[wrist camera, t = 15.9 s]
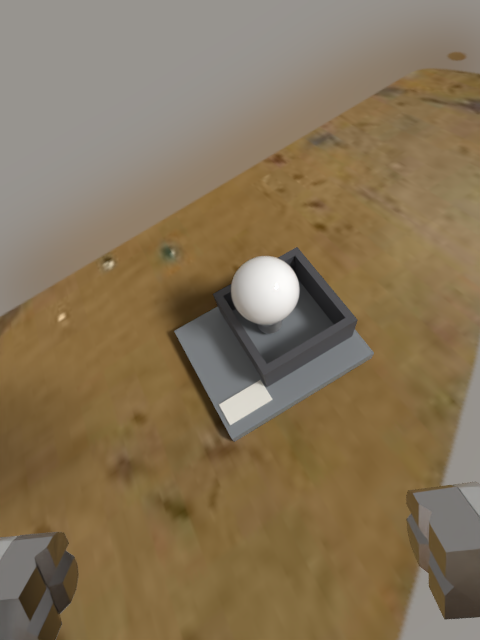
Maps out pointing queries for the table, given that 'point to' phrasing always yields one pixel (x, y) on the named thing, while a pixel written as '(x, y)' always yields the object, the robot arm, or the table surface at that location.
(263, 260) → the lightbulb
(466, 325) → the table surface
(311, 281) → the socket board
